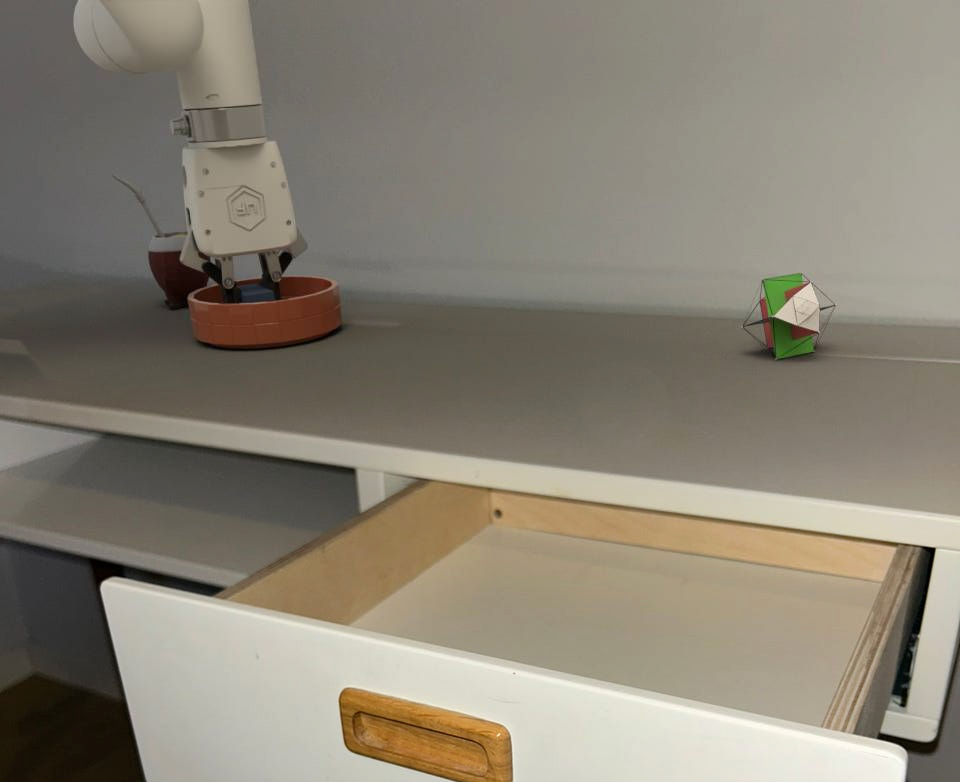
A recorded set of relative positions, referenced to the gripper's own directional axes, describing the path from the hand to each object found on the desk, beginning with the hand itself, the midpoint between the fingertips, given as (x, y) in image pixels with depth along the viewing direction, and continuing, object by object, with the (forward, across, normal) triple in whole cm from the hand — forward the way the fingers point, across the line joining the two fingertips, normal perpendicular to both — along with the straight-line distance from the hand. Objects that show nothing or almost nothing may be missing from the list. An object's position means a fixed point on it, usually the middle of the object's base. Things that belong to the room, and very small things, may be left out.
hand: (255, 321), depth 111 cm
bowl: (+1, +1, -1) cm, 2 cm away
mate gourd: (+1, -2, +22) cm, 22 cm away
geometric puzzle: (+2, +34, -42) cm, 54 cm away
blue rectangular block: (0, 0, 0) cm, 0 cm away
